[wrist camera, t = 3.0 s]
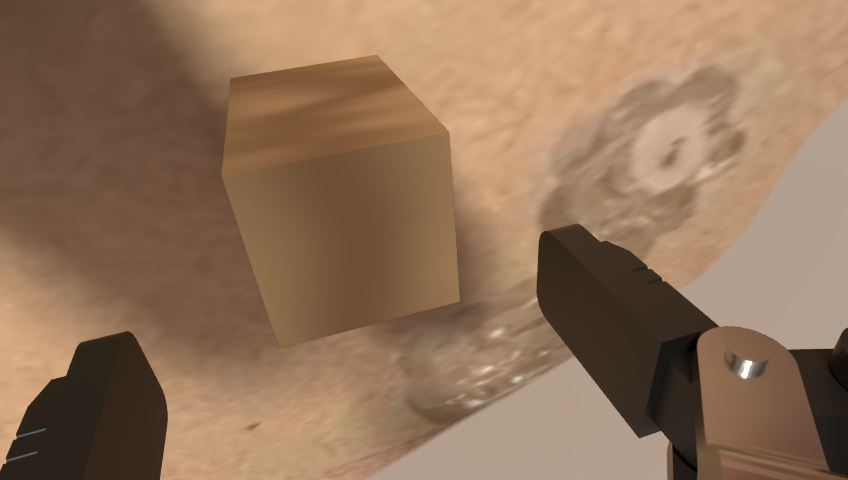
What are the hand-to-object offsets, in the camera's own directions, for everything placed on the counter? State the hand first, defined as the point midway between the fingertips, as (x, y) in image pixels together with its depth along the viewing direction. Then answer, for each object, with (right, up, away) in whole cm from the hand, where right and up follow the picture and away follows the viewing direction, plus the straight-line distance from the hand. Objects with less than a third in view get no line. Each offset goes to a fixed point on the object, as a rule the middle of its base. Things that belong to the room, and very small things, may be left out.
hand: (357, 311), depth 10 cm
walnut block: (-3, +5, +9) cm, 11 cm away
